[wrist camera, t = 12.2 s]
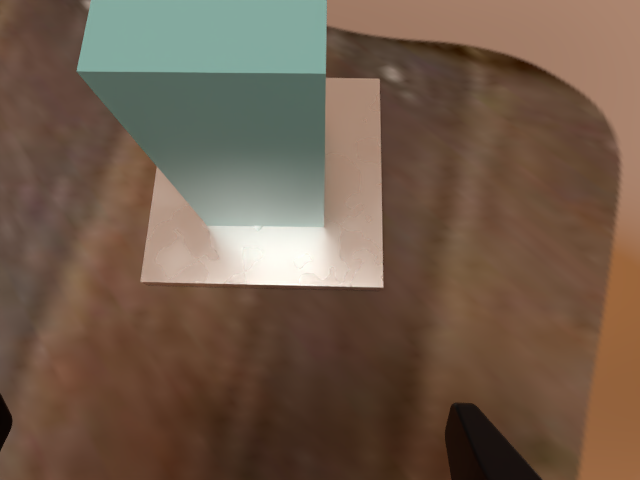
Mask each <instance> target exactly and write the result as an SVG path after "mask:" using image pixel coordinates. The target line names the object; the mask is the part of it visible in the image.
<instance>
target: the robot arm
mask: <svg viewBox="0 0 640 480" xmlns="http://www.w3.org/2000/svg"><path fill="white" fill-rule="evenodd" d="M11 426H12V415H11V413H10V411H9V409H8V407H7V405H6V403H5V401H4V399H3V397H2V395H1V394H0V451H1V448H2V446H3V444H4V442H5V440H6V438H7V436H8V434H9V432H10V430H11ZM445 442H446V448H447V454H448V461H449V467H450V473H451V479H452V480H542V479H541V477H540V476H539V475H538V474H537V473H536V472H535V471H534V470H533V468H532V467H531V466H530V465H529V464H528V463H527V462H526V461H525V460H524V458H523V457H522V456H521V455H520V454H519V453H518V452H517V451H516V450H515V448H514V447H513V446H512V445H511V444H510V443H509V442H508V441H507V439H506V438H505V437H504V436H503V435H502V434H501V433H500V432H499V431H498V429H497V428H496V427H495V426H494V425H493V424H492V423H491V422H490V421H489V419H488V418H487V417H486V416H485V415H484V414H483V413H482V412H481V410H480V409H479V408H478V407H477V406H476V405H474V404H472V403H453V404H452V406H451V408H450V412H449V416H448V421H447V425H446V429H445Z"/></svg>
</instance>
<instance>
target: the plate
mask: <svg viewBox="0 0 640 480" xmlns="http://www.w3.org/2000/svg"><path fill="white" fill-rule="evenodd" d="M141 282H142V283H144V284H146V285H152V286H195V287H238V288H281V289H324V290H367V291H381V290H382V288H383V243H382V185H381V127H380V79H362V78H326V101H325V182H324V227H276V226H207V225H206V224H205V223H204V221H203V220H202V219H201V218H200V217H199V215H198V214H197V213H196V212H195V211H194V210H193V208H192V207H191V206H190V205H189V204H188V202H187V201H186V200H185V199H184V198H183V197H182V195H181V194H180V193H179V192H178V191H177V189H176V188H175V187H174V186H173V185H172V184H171V182H170V181H169V180H168V179H167V178H166V176H165V175H164V174H163V173H162V172H161V171H160V169H159V168H158V167H157V170H156V177H155V184H154V191H153V198H152V205H151V212H150V219H149V226H148V233H147V240H146V247H145V254H144V261H143V268H142V275H141Z"/></svg>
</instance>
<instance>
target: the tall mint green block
mask: <svg viewBox="0 0 640 480" xmlns="http://www.w3.org/2000/svg"><path fill="white" fill-rule="evenodd" d="M326 9H327V0H91V4H90V9H89V13H88V18H87V23H86V28H85V33H84V38H83V43H82V48H81V53H80V57H79V62H78V67H77V72H78V74H79V75H80V76H81V77H82V78H83V80H84V81H85V82H86V83H87V84H88V85H89V87H90V88H91V89H92V90H93V91H94V93H95V94H96V95H97V96H98V97H99V98H100V100H101V101H102V102H103V103H104V104H105V106H106V107H107V108H108V109H109V110H110V111H111V113H112V114H113V115H114V116H115V117H116V119H117V120H118V121H119V122H120V123H121V124H122V126H123V127H124V128H125V129H126V130H127V132H128V133H129V134H130V135H131V136H132V137H133V139H134V140H135V141H136V142H137V143H138V145H139V146H140V147H141V148H142V149H143V150H144V152H145V153H146V154H147V155H148V156H149V158H150V159H151V160H152V161H153V162H154V163H155V165H156V166H157V167H158V168H159V169H160V171H161V172H162V173H163V174H164V175H165V176H166V178H167V179H168V180H169V181H170V182H171V184H172V185H173V186H174V187H175V188H176V189H177V191H178V192H179V193H180V194H181V195H182V197H183V198H184V199H185V200H186V201H187V202H188V204H189V205H190V206H191V207H192V208H193V210H194V211H195V212H196V213H197V214H198V215H199V217H200V218H201V219H202V220H203V221H204V223H205V224H206V225H207V226H276V227H324V182H325V101H326V16H327V15H326V14H327V10H326Z"/></svg>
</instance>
